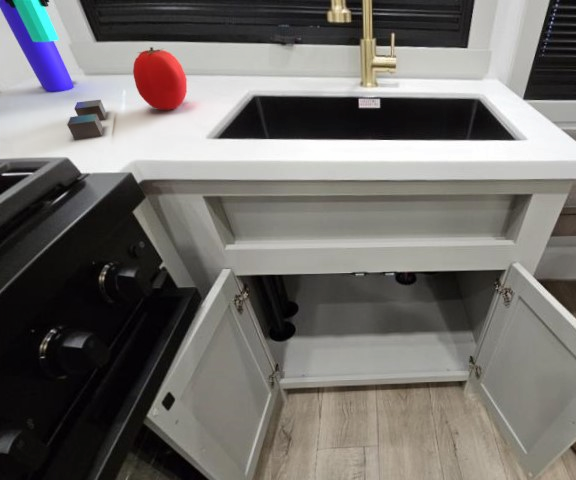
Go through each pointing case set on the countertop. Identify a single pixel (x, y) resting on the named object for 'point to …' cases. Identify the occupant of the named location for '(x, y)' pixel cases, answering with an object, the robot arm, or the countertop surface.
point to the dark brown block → (91, 108)
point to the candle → (36, 20)
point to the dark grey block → (85, 126)
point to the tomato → (160, 79)
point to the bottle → (39, 54)
